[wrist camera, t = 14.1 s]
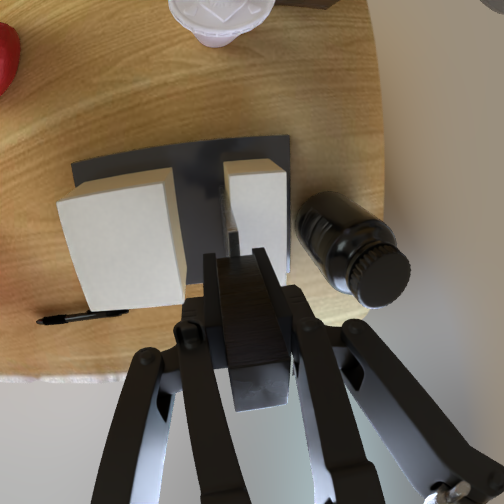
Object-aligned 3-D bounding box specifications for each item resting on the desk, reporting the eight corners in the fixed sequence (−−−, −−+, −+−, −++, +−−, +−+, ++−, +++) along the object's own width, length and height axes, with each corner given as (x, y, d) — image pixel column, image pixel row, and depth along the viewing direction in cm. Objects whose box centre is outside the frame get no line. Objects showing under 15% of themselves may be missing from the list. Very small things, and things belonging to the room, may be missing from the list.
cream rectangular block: (268, 158, 25) (286, 171, 20) (271, 258, 30) (286, 292, 25) (223, 161, 25) (228, 175, 19) (231, 262, 29) (238, 298, 24)
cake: (172, 167, 24) (162, 183, 19) (186, 267, 29) (184, 304, 24) (83, 182, 23) (55, 202, 18) (107, 276, 28) (91, 311, 23)
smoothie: (179, 64, 21) (153, 16, 9) (178, 3, 18) (159, -80, 6) (253, 60, 22) (304, 12, 9) (251, -1, 19) (294, -80, 7)
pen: (125, 299, 30) (123, 305, 29) (130, 311, 31) (129, 317, 30) (34, 312, 29) (31, 318, 28) (40, 322, 30) (37, 328, 29)
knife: (234, 184, 25) (293, 327, 9) (239, 247, 28) (286, 420, 12) (209, 187, 25) (223, 337, 9) (215, 250, 27) (238, 428, 12)
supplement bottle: (315, 262, 32) (363, 335, 22) (280, 217, 29) (324, 284, 18) (364, 224, 31) (430, 282, 20) (334, 175, 28) (405, 219, 17)
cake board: (286, 134, 25) (289, 134, 24) (287, 267, 32) (290, 272, 31) (74, 161, 23) (70, 163, 22) (106, 287, 30) (104, 292, 29)
